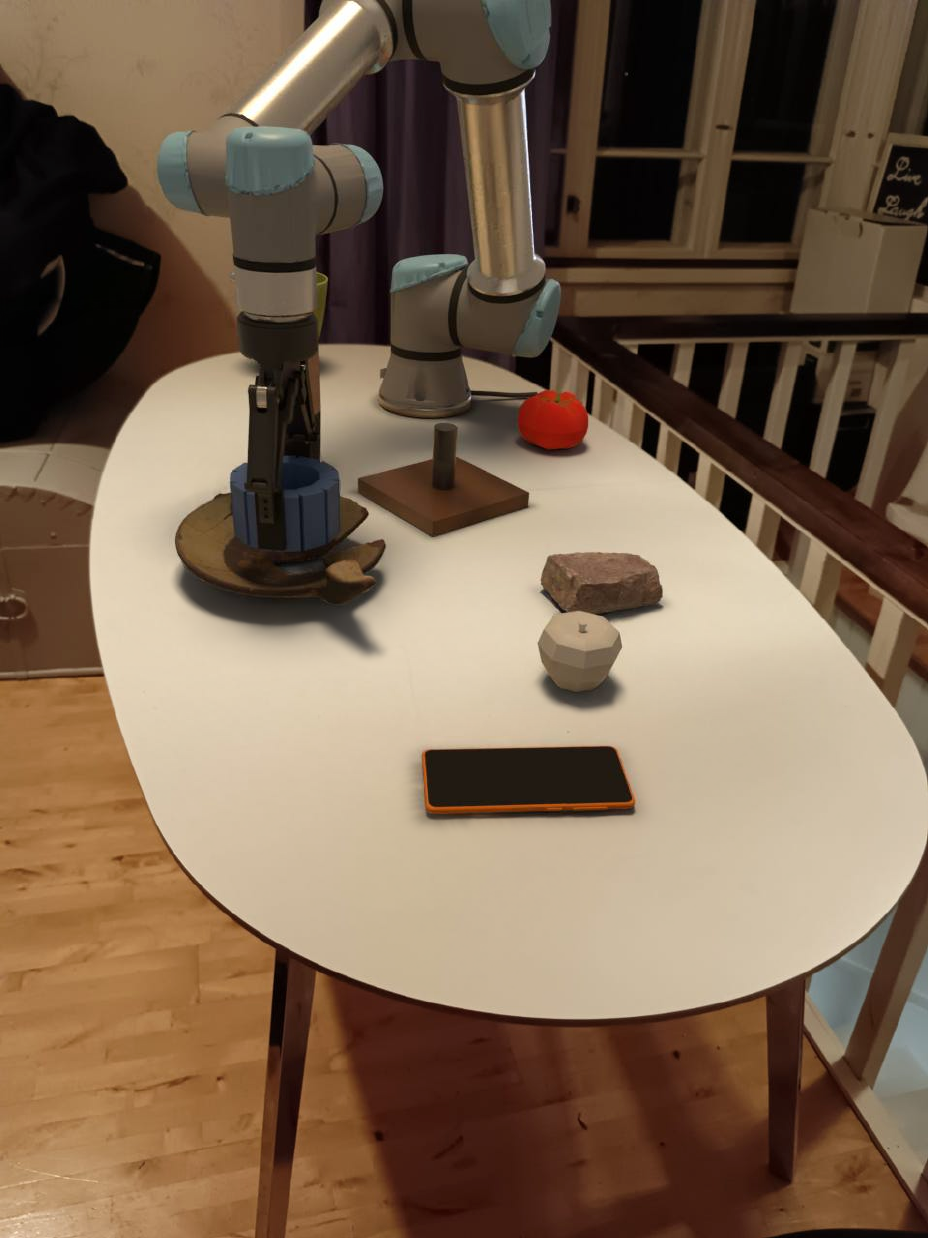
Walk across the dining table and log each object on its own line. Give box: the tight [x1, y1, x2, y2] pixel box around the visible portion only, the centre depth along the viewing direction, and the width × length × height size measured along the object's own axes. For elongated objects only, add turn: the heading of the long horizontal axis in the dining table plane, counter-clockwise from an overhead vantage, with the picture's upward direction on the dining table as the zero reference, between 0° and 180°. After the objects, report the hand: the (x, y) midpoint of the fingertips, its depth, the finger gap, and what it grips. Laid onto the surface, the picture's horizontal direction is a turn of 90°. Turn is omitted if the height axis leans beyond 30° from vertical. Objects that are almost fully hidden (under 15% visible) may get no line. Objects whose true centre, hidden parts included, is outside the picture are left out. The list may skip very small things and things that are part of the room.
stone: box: [540, 551, 664, 615], centre depth 104 cm, size 12×9×5 cm
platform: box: [357, 422, 530, 537], centre depth 123 cm, size 16×16×10 cm
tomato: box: [516, 389, 589, 451], centre depth 144 cm, size 11×11×8 cm
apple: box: [537, 611, 623, 693], centre depth 89 cm, size 8×8×7 cm
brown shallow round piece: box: [174, 492, 387, 606], centre depth 103 cm, size 22×30×8 cm
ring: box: [229, 456, 341, 552], centre depth 100 cm, size 11×11×6 cm
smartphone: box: [421, 745, 636, 815], centre depth 78 cm, size 8×17×1 cm, turn 95°
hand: (287, 522), depth 101 cm, fingers closed on ring, 11 cm apart
